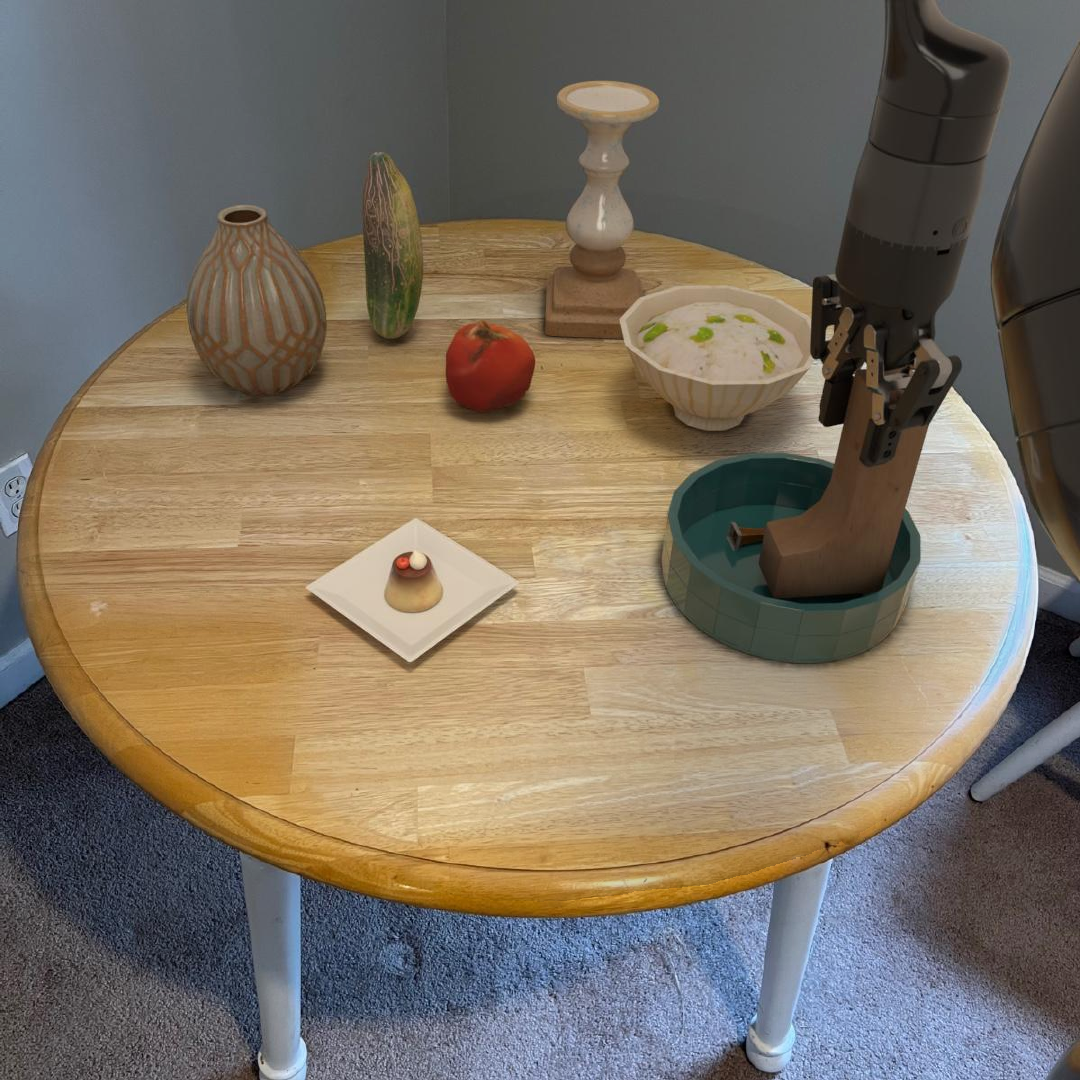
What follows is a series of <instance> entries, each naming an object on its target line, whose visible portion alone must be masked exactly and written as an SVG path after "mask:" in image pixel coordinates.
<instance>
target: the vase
mask: <svg viewBox="0 0 1080 1080" xmlns="http://www.w3.org/2000/svg"><path fill="white" fill-rule="evenodd" d="M216 220H217V225H216V228H215V231H214V234H213V236H212V238H211V239H210V241H209V243H208V244H207V245H206V247H205V249H204V250H203V251H202V254H201V255H200V257H199V259H198V261H197V263H196V265H195V267H194V269H193V271H192V274H191V277H190V280H189V284H188V288H187V289H188V290H187V295H186V317H187V324H188V330H189V334H190V337H191V341H192V343H193V346H194V349H195V350H196V352H197V354H198V356H199V358H200V359H201V361H202V362H203V364H204V365H205V366H206V368H207V369H208V370H209V371H210V372H211V373H212V374H213V375H214V376H215V377H216V378H217V379H219V380H220V381H221V382H223V383H224V384H226V385H228V386H229V387H231V388H234V389H235V390H238V391H239V392H242V393H244V394H247V395H252V396H257V397H258V396H263V397H264V396H274V395H280V394H282V393H285V392H287V391H289V390H292V389H293V388H295V386H297V385H298V384H299V383H300V382H302V381H303V380H304V379H305V378H306V377H307V376H308V375H309V374H310V373H311V372H312V371H313V370H314V368H315V367H316V365H317V363H318V361H319V360H320V358H321V356H322V353H323V349H324V346H325V342H326V338H327V328H328V326H327V324H328V322H327V310H326V304H325V299H324V295H323V292H322V289H321V286H320V283H319V281H318V279H317V277H316V276H315V274H314V271H313V270H312V268H311V267H310V265H309V264H308V263H307V261H306V259H305V258H304V257H303V256H302V255H301V254H300V253H299V251H298V250H297V249H295V247H294V246H293V245H292V244H291V243H290V242H289V241H287V239H285V237H284V236H282V234H280V233H279V232H278V231H277V230H276V229H275V227H274V226H273V224H272V223H271V221H270V220H269V217H268V212H267V211H266V209H264V208H262V207H260V206H257V205H250V204H240V205H232V206H229V207H227V208H224V209H222V210H220V212H218V213H217V216H216Z"/></svg>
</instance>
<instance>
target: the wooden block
mask: <svg viewBox="0 0 1080 1080" xmlns="http://www.w3.org/2000/svg"><path fill="white" fill-rule="evenodd" d="M901 370H902V368H900V369H895V370H890V371H884V376H888V375H893V374H897V373H899V372H900V371H901ZM853 376H854V380H853V384H852V389H851V393H850V397H849V402H848V406H847V411H846V415H845V419H844V424H842V428H841V431H840V432H841V433H840V437H839V442H838V445H837V450H836V455H835V459H834V462H833V463H834V467H833V472H832V476H831V481H830V483H829V485H828V486H827V488H826V490H825V492H824V494H823V496H822V498H821V500H820V501H819V502H817V503H816V504H815V505H813V506H812V507H811V508H809V509H808V510H807V511H805V512H804V513H803V514H801V515H800V516H795V517H790V518H785V519H780V520H775V521H770V522H768V523H767V524H766V527H765V532H764V537H763V543H762V548H761V553H760V558H759V566H760V569H761V571H762V573H763V576H764V578H765V581H766V583H767V585H768V588H769V590H770V592H771V595H772V597H773V598H776V599H779V598H795V597H810V596H826V595H842V594H857V593H873V592H878V591H880V590H881V589H882V587H883V584H884V580H885V577H886V573H887V570H888V566H889V563H890V559H891V556H892V553H893V549H894V546H895V542H896V539H897V535H898V532H899V528H900V525H901V521H902V517H903V514H904V510H905V509H906V507H907V503H908V499H909V496H910V493H911V489H912V486H913V482H914V479H915V475H916V471H917V468H918V465H919V461H920V457H921V455H922V451H923V447H924V445H925V440H926V437H927V433H928V430H929V426H930V424H929V425H926V426H918V427H914V428H909V429H905V430H903V431H901V435H900V438H899V442H898V444H897V445H898V446H897V449H896V453H895V456H894V458H893V459H892V460H891V461H888V462H887V463H885V464H882V465H877V466H873V467H866V466H865V465H864V464H863V463H862V462H861V461H860V460H859V457H860V453H861V449H862V445H863V442H864V438H865V434H866V430H867V426H868V422H869V419H872V391H871V390H869V389H868V388H867V386H866V368H861V369H859V370H857V371H856V372H855V374H854V375H853ZM896 392H897V390H893V391H891V392H890V394H889V405H891V404H896Z"/></svg>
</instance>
